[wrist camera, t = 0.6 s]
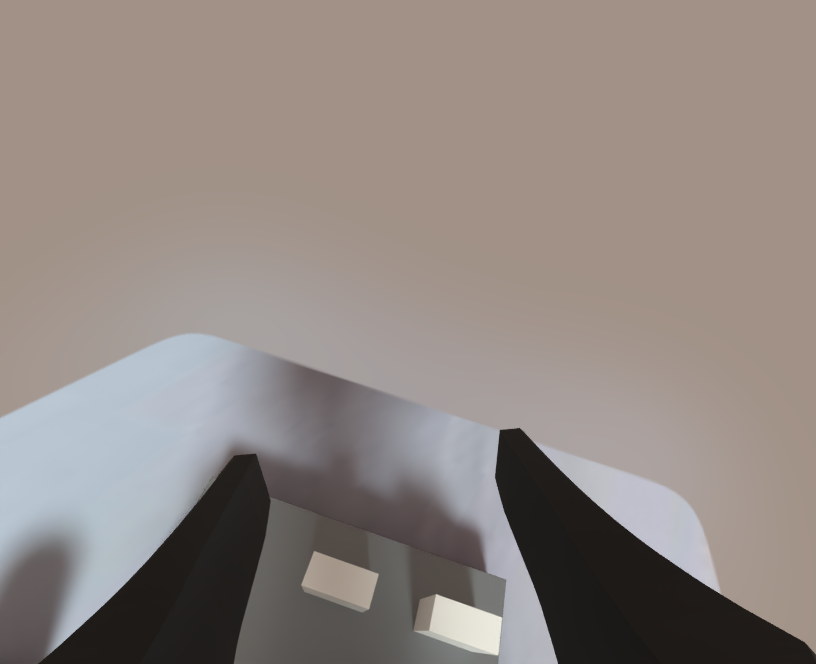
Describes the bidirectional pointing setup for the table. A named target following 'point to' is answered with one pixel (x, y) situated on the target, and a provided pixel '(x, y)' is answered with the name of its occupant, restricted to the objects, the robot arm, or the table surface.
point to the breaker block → (363, 599)
